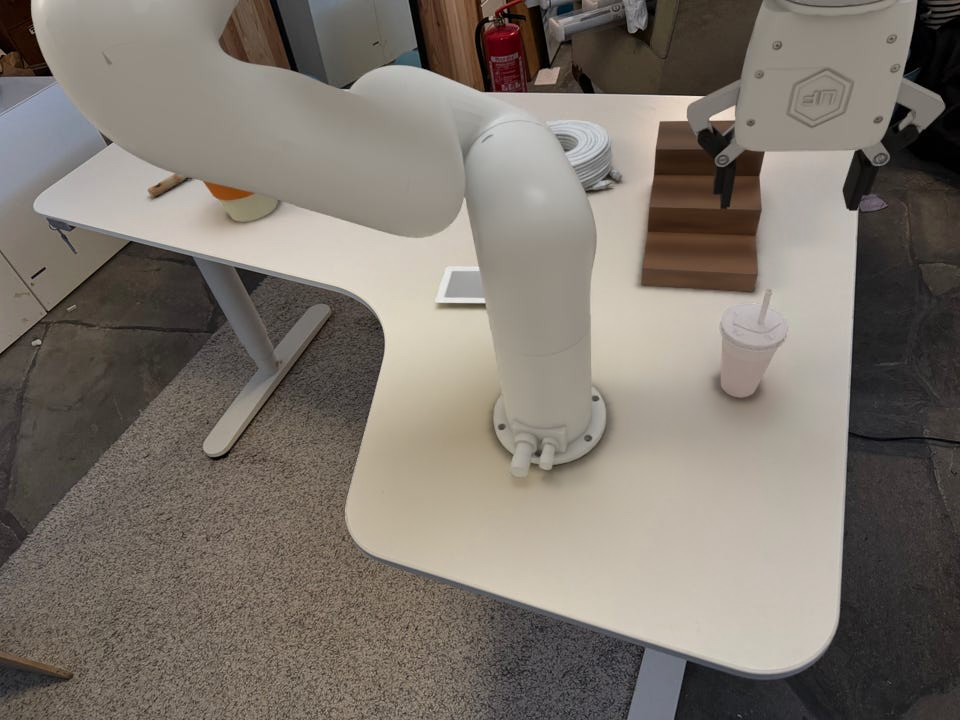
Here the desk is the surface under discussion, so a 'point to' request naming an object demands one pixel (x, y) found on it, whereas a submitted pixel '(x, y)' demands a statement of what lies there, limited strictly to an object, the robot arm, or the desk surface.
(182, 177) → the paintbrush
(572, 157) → the cable
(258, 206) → the reusable coffee cup
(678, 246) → the tier shelf
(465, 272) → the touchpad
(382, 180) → the robot arm
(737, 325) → the smoothie
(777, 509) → the desk surface
